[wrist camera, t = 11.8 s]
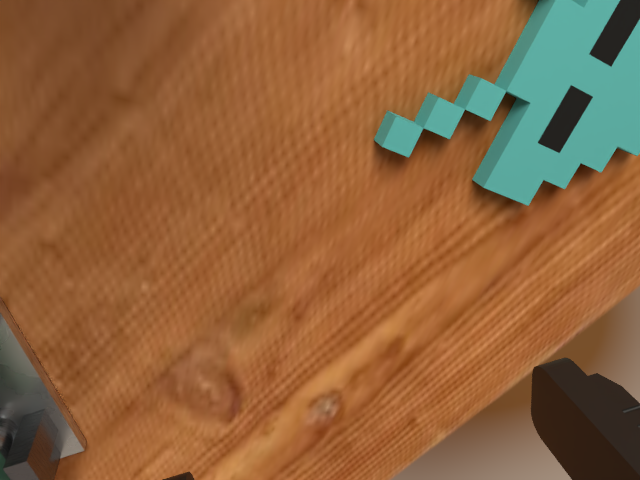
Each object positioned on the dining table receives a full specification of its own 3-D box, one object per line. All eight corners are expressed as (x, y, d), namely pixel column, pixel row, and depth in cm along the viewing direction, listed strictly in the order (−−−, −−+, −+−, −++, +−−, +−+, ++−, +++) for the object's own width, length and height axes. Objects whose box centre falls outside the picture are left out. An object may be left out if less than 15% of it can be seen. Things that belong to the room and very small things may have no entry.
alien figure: (371, 138, 38) (571, 219, 45) (381, 146, 36) (589, 230, 43) (516, -172, 31) (722, -19, 38) (537, -182, 29) (751, -19, 36)
